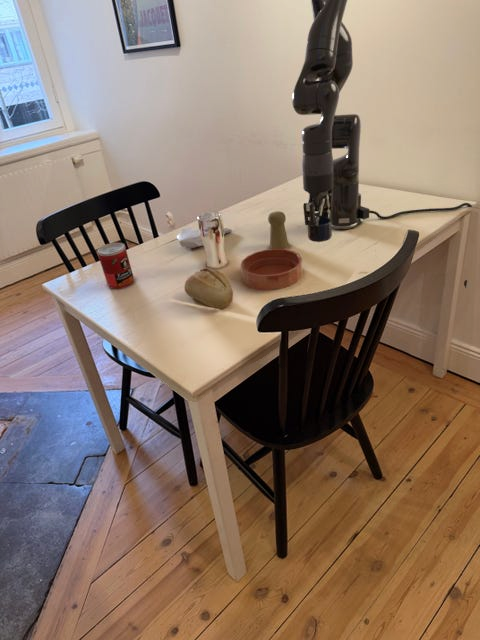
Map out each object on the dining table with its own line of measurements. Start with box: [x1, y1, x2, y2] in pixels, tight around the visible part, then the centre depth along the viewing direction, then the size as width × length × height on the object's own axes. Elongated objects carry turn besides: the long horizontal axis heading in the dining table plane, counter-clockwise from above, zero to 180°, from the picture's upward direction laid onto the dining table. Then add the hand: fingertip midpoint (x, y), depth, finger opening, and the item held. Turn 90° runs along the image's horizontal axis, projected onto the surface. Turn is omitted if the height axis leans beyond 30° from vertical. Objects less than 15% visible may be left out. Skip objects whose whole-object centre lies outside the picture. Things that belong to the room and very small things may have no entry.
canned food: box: [97, 242, 135, 290], centre depth 132 cm, size 8×8×11 cm
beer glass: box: [197, 211, 228, 269], centre depth 134 cm, size 7×7×15 cm
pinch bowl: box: [306, 216, 333, 243], centre depth 124 cm, size 6×6×5 cm
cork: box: [267, 210, 289, 249], centre depth 140 cm, size 6×6×11 cm
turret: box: [176, 227, 232, 249], centre depth 153 cm, size 10×20×5 cm, turn 136°
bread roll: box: [184, 267, 234, 310], centre depth 118 cm, size 10×15×8 cm, turn 46°
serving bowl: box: [240, 248, 304, 291], centre depth 126 cm, size 16×16×5 cm
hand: (319, 233), depth 125 cm, fingers closed on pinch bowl, 6 cm apart
